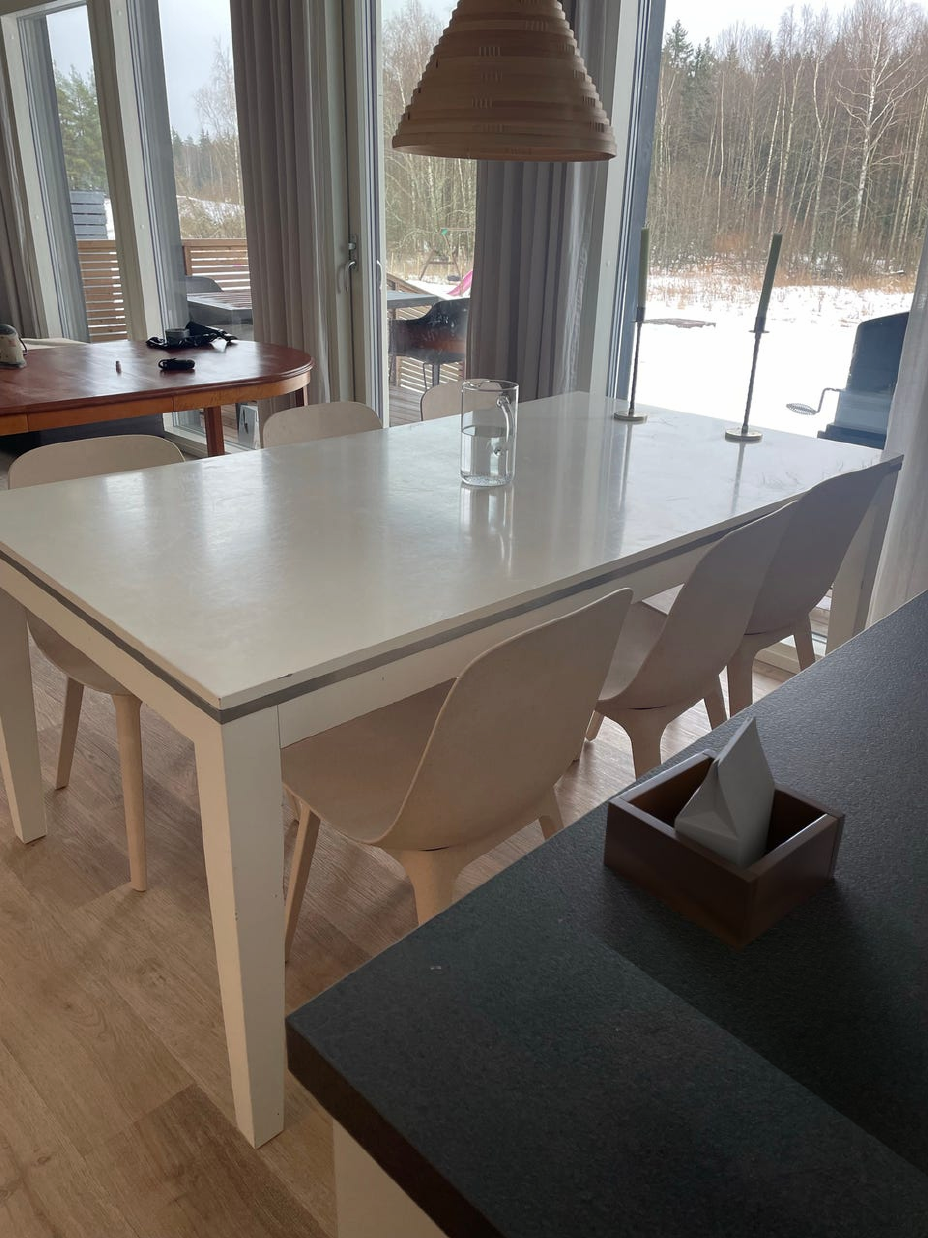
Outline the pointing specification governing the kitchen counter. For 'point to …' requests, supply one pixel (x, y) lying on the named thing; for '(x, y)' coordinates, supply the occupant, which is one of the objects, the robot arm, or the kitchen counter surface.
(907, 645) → the kitchen counter surface
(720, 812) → the white faceted block
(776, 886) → the holder
